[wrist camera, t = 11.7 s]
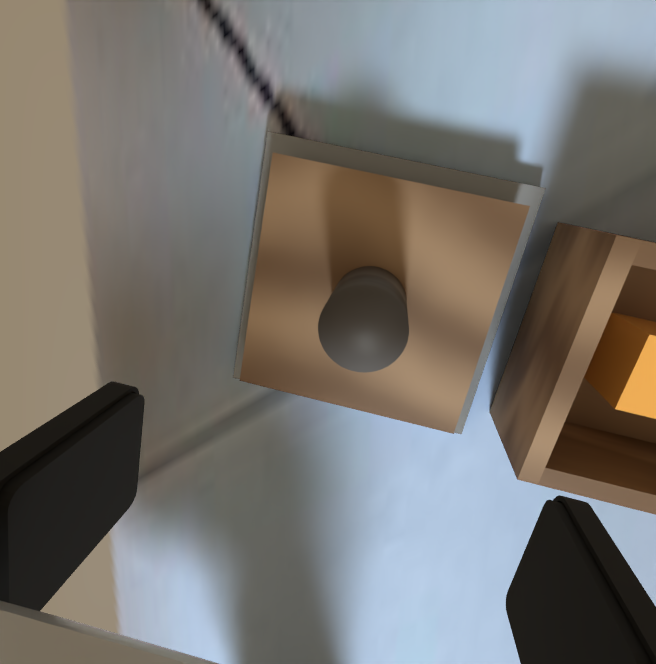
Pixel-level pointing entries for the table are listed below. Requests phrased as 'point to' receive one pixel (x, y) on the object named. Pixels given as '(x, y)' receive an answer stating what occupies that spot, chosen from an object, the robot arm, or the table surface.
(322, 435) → the table surface
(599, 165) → the table surface
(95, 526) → the robot arm
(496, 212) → the lid
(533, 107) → the table surface
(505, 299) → the mat
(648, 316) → the storage box
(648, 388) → the block
